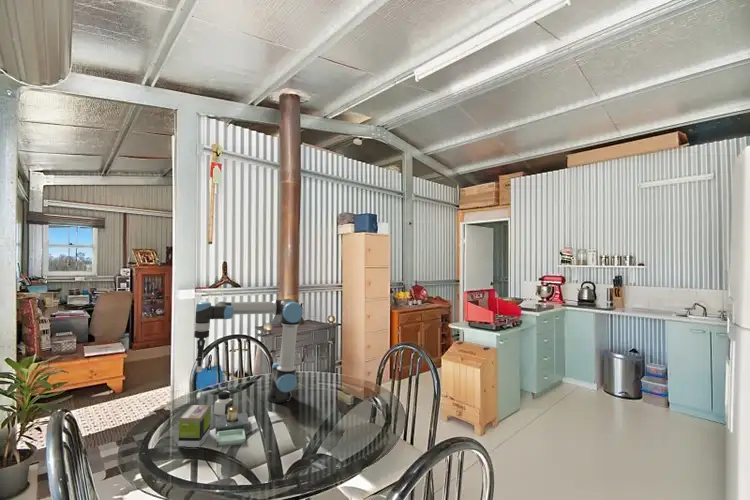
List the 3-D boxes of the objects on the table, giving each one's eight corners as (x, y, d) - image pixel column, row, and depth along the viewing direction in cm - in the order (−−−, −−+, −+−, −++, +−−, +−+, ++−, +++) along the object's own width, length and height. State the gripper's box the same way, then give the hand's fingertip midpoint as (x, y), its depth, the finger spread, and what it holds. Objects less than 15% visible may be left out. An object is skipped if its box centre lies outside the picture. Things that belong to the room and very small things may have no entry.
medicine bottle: (224, 416, 213) (226, 395, 213) (213, 414, 214) (215, 393, 214) (232, 411, 220) (233, 390, 220) (221, 409, 221) (222, 388, 221)
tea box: (190, 432, 192) (192, 404, 192) (210, 433, 193) (212, 404, 193) (177, 448, 177) (179, 417, 177) (199, 449, 178) (201, 417, 178)
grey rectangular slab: (246, 419, 210) (247, 412, 210) (248, 430, 198) (248, 423, 198) (215, 423, 204) (216, 415, 204) (215, 434, 192) (216, 426, 192)
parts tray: (243, 433, 195) (244, 428, 195) (245, 443, 185) (245, 438, 185) (216, 436, 190) (216, 431, 190) (216, 447, 180) (217, 442, 180)
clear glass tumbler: (236, 424, 204) (238, 405, 204) (237, 428, 200) (238, 409, 200) (226, 425, 202) (227, 406, 202) (226, 430, 197) (227, 411, 197)
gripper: (196, 325, 220) (193, 361, 220) (193, 335, 197) (190, 375, 197) (209, 325, 223) (207, 360, 223) (208, 335, 200) (206, 374, 200)
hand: (199, 367), depth 210 cm, fingers open, 13 cm apart
